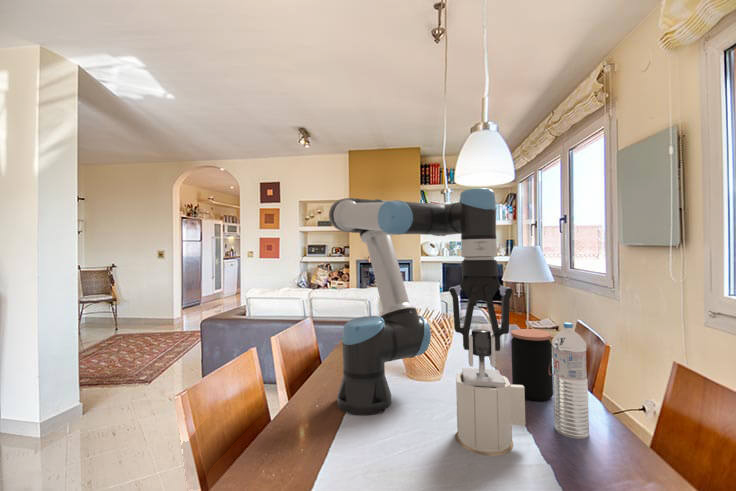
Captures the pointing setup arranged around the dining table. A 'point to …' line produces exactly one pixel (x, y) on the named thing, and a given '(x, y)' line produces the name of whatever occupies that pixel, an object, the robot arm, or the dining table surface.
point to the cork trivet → (483, 453)
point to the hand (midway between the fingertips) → (481, 364)
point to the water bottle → (570, 384)
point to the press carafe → (487, 410)
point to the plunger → (481, 347)
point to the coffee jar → (532, 363)
